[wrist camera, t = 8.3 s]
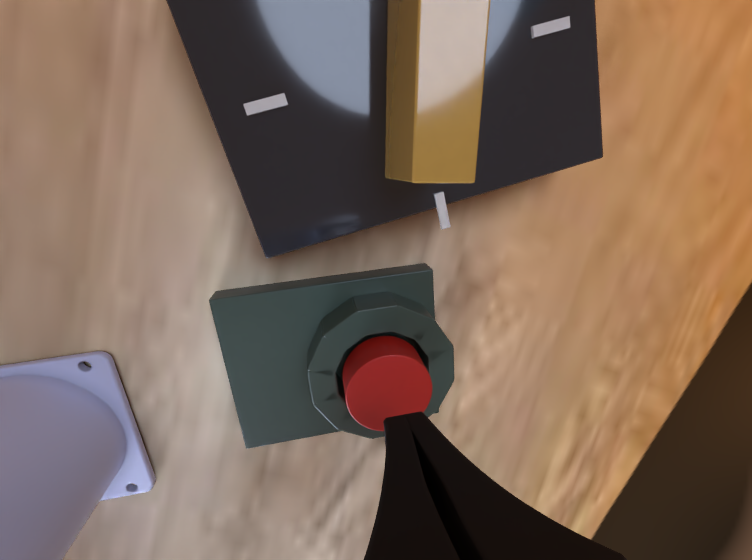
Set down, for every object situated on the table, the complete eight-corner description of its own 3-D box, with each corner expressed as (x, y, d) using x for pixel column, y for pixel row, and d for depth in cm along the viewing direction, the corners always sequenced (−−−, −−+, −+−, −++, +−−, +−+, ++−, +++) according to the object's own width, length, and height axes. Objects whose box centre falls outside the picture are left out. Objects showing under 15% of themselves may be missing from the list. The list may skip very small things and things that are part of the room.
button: (347, 412, 17) (350, 439, 15) (337, 342, 16) (340, 363, 14) (423, 398, 17) (434, 423, 16) (419, 329, 16) (431, 348, 14)
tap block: (280, 260, 17) (273, 281, 14) (166, -44, 13) (123, -106, 10) (559, 176, 18) (608, 178, 15) (530, -130, 14) (588, -211, 11)
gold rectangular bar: (431, 178, 14) (479, 183, 10) (384, 178, 13) (414, 184, 10) (443, -68, 12) (513, -192, 8) (388, -74, 11) (429, -206, 7)
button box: (249, 432, 19) (238, 478, 16) (215, 290, 17) (195, 316, 14) (436, 398, 21) (456, 435, 18) (430, 262, 18) (452, 280, 15)
